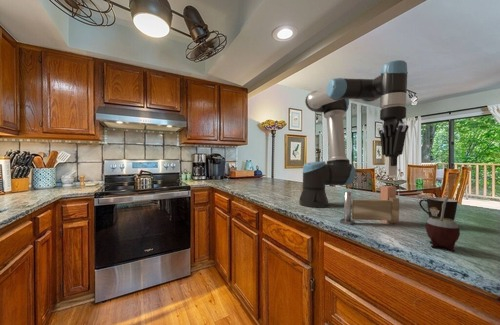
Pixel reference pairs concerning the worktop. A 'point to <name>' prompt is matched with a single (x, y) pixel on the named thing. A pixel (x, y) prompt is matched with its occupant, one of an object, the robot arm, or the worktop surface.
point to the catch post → (387, 195)
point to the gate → (376, 209)
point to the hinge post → (347, 209)
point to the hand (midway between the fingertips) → (391, 175)
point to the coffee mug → (440, 207)
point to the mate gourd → (442, 231)
